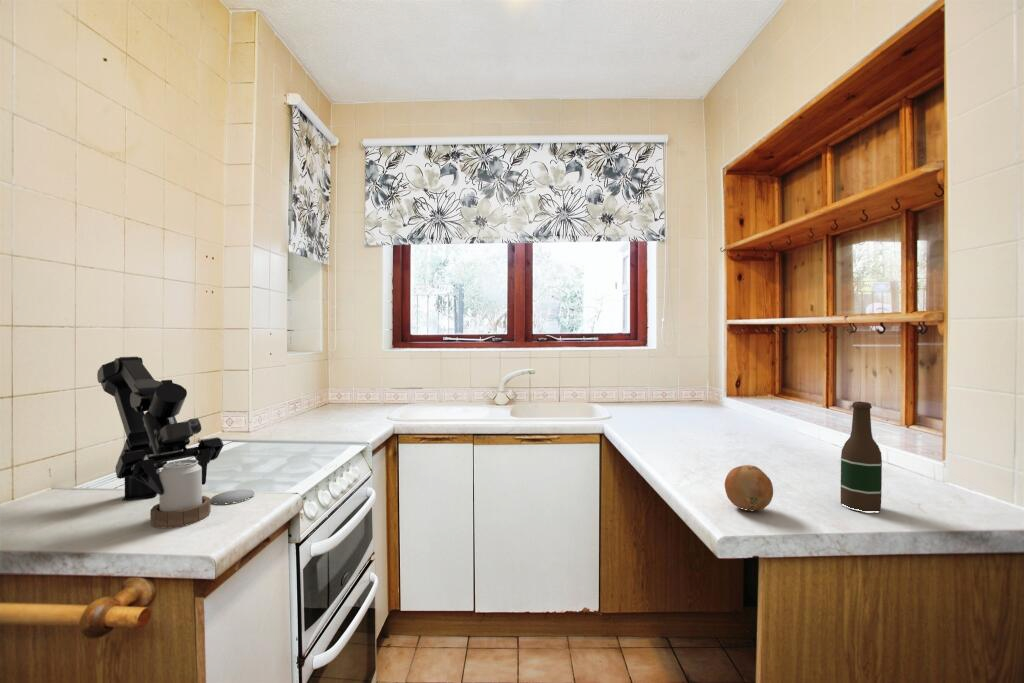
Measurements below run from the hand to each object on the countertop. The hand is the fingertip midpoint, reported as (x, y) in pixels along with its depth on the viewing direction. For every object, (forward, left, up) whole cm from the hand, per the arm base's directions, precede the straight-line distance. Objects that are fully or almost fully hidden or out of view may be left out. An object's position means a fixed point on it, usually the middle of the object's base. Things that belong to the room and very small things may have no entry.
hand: (183, 488), depth 98 cm
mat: (+8, +11, -7) cm, 15 cm away
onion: (+114, -47, -7) cm, 124 cm away
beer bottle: (+138, -57, -7) cm, 150 cm away
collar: (-1, +1, -7) cm, 7 cm away
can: (-1, +1, -7) cm, 7 cm away
